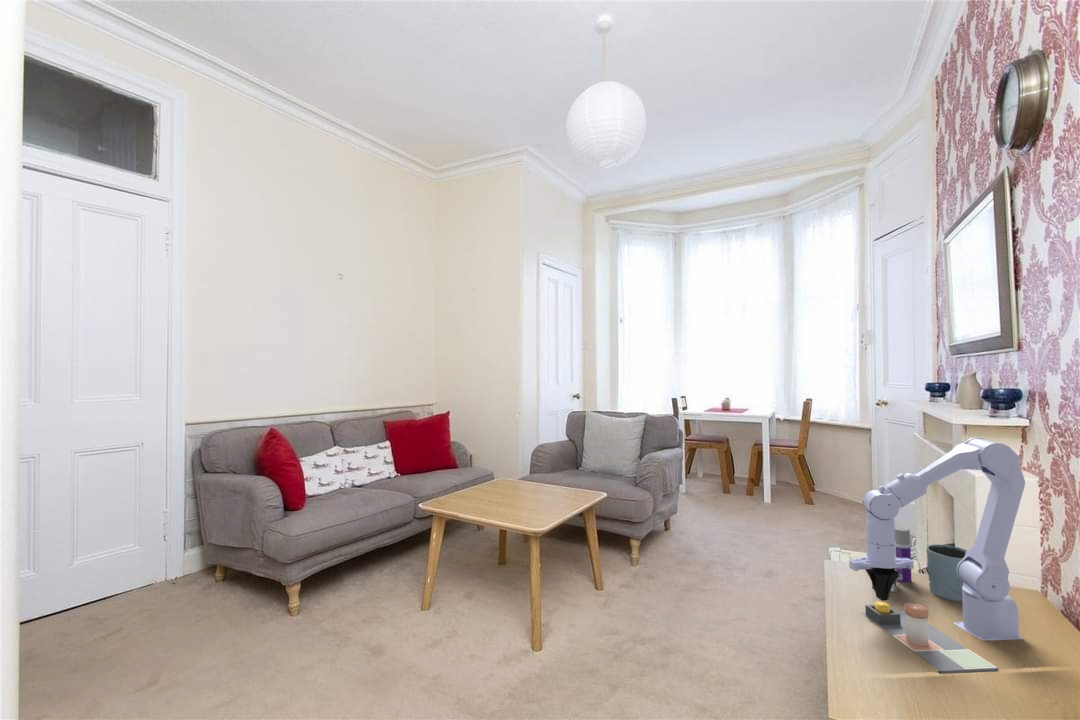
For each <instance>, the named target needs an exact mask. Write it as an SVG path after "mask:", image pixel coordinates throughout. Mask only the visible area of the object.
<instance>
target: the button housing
mask: <svg viewBox="0 0 1080 720" xmlns="http://www.w3.org/2000/svg"><path fill="white" fill-rule="evenodd" d="M864 610H865V613H866V615H867V616H868V617H869V618H871V619H872V620H873V621H875V622H876V623H878V624H879V625H898V624H901V619H900V614H899V613H898V611H896V610H895V609H894V608H892V607H890V613H879V612H878V611H876V610H875V604H865V609H864Z"/></svg>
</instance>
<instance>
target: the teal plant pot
mask: <svg viewBox="0 0 1080 720" xmlns="http://www.w3.org/2000/svg"><path fill="white" fill-rule="evenodd" d="M967 550H968V549H964V548H962V547H957V546H953V545H949V544H933V543H932V544H929V545H927V546H926V547H925V551H926V559H927V568H928V569H927V572H928V581H929V592H930V593H931V594H933V595H935V596H936V597H939V598H942V599H945V600H949V601H954V602H962V603H963V597H962V586H963V580H962V579H961V578H960V577H959V576H958V574H957V565H958V563H959V562H960V561H961V560H962V559H963V558H964V557H965V554H966V551H967Z"/></svg>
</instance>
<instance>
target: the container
mask: <svg viewBox="0 0 1080 720" xmlns="http://www.w3.org/2000/svg"><path fill="white" fill-rule="evenodd" d="M895 542H896V558H908V559H910V560H912V555H911V553H912V550H911V549H912V548H911V547H912V545H911V531H910V528H908V527H906V526H902V525H895ZM896 571H897V572H898V573H899V577H898V578H897V579H896V583H906V584H907V583H912V569H908V568H896Z"/></svg>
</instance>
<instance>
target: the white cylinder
mask: <svg viewBox="0 0 1080 720" xmlns="http://www.w3.org/2000/svg"><path fill="white" fill-rule="evenodd" d="M904 611H905V620H906V640H907V641H908V642H909V643H911V644H913V645H916V646H921V647H926V646H928V645H929V641H928V624H929V609H928V608H927V607H926V606H924V605H921V604H919V603H913V602H912V603H911V602H906V603H904Z"/></svg>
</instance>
